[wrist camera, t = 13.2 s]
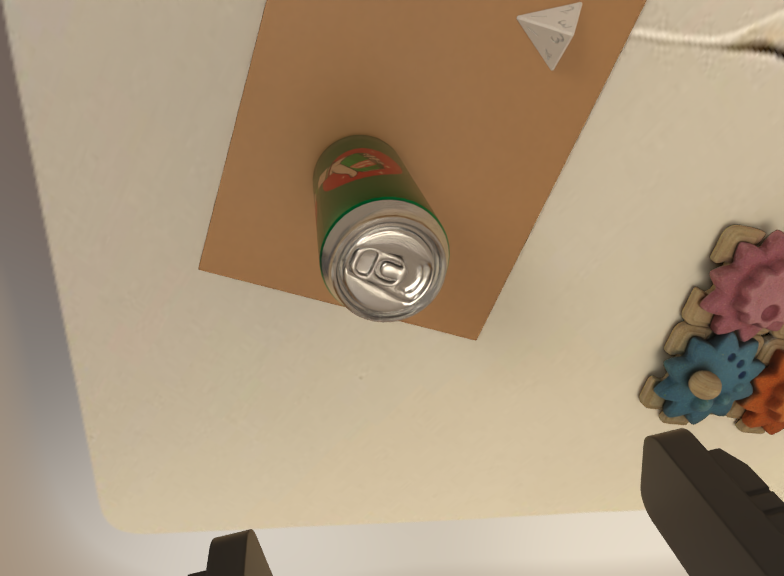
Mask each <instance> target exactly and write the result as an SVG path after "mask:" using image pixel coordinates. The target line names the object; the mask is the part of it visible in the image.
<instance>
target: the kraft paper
mask: <svg viewBox="0 0 784 576" xmlns="http://www.w3.org/2000/svg"><path fill="white" fill-rule="evenodd" d="M578 2H582V7H581V11H580V15H579V18H578V22H577V26H576V29H575V33H574V36H573V38H572V39H571V41H570V43H569V45H568V46H567V48H566V50H565V51H564V53H563V55H562V57H561V58H560V60H559V62H558V63H557V65H556V67H555V69H554V70H552V71H551V70H550V68H549V67H548V65H547V64H546V62H545V61H544V59H543V58H542V56H541V55H540V53H539V52H538V50H537V49H536V47H535V46H534V44H533V43H532V41H531V40H530V38H529V37H528V35H527V34H526V32H525V31H524V29H523V28H522V26H521V25H520V23H519V22H518V20H517V16H519V15H524V14H528V13H533V12H537V11H542V10H546V9H551V8H555V7H560V6H564V5H569V4H573V3H578ZM645 2H646V0H267V1H266V5H265V9H264V13H263V17H262V21H261V25H260V29H259V33H258V36H257V40H256V44H255V48H254V52H253V56H252V60H251V64H250V68H249V72H248V76H247V80H246V84H245V88H244V92H243V95H242V99H241V103H240V107H239V111H238V115H237V119H236V123H235V127H234V131H233V135H232V139H231V143H230V147H229V151H228V154H227V158H226V162H225V166H224V170H223V174H222V178H221V182H220V186H219V190H218V194H217V198H216V202H215V206H214V210H213V213H212V217H211V221H210V225H209V229H208V233H207V237H206V241H205V245H204V249H203V253H202V257H201V261H200V265H199V270H203V271H207V272H210V273H214V274H218V275H222V276H226V277H230V278H234V279H238V280H242V281H246V282H249V283H253V284H257V285H261V286H265V287H269V288H273V289H277V290H281V291H285V292H289V293H292V294H296V295H300V296H304V297H308V298H312V299H316V300H320V301H324V302H328V303H331V304H335V305H339V306H343V305H342V304H340V303H339V302H338V301H337V300H336V299H335V298H334V297H333V296H332V295H331V293H330V292H329V291H328V289H327V287H326V286H325V284H324V281H323V278H322V276H321V271H320V266H319V254H318V242H317V230H316V218H315V206H314V194H313V172H314V168H315V165H316V163H317V161H318V159H319V157H320V156H321V154H322V153H323V151H324V150H325V149H326V148H327V147H328V146H330V145H331V144H332V143H334V142H335V141H337V140H339V139H341V138H344V137H347V136H351V135H368V136H373V137H376V138H379V139H381V140H382V141H384V142H386V143H387V144H388V145H390V146H391V147H392V148H393V149H394V150H395V151H396V153H397V154H398V156H399V157H400V159H401V160H402V162H403V163H404V165H405V167H406V168H407V170H408V171H409V173H410V175H411V176H412V178H413V179H414V181H415V183H416V184H417V186H418V187H419V189H420V191H421V192H422V194H423V195H424V197H425V199H426V200H427V202H428V203H429V205H430V207H431V208H432V210H433V211H434V213H435V215H436V216H437V218H438V219H439V221H440V222H441V224H442V226H443V227H444V230H445V232H446V234H447V237H448V241H449V247H450V259H449V265H448V269H447V273H446V276H445V279H444V283H443V285H442V287H441V290H440V291H439V293H438V295H437V296H436V298H435V299H434V300H433V301H432V302H431V303H430V304H429V305H428V306H427V307H426V308H425V309H423V310H422V311H420V312H419V313H417V314H415V315H413V316H411V317H409V318H406V319H403V320H400V321H402V322H406V323H410V324H413V325H417V326H421V327H425V328H429V329H433V330H437V331H441V332H445V333H449V334H453V335H456V336H460V337H464V338H468V339H472V340H477V338H478V336H479V334H480V332H481V330H482V328H483V326H484V324H485V322H486V320H487V318H488V316H489V314H490V312H491V310H492V308H493V306H494V304H495V302H496V300H497V298H498V296H499V294H500V292H501V290H502V288H503V286H504V284H505V282H506V280H507V278H508V276H509V274H510V272H511V270H512V268H513V266H514V264H515V262H516V260H517V258H518V256H519V254H520V252H521V250H522V248H523V246H524V244H525V242H526V240H527V238H528V236H529V234H530V232H531V230H532V228H533V226H534V224H535V222H536V220H537V218H538V216H539V214H540V212H541V210H542V208H543V206H544V204H545V202H546V200H547V198H548V196H549V194H550V192H551V190H552V188H553V186H554V184H555V182H556V180H557V178H558V176H559V174H560V172H561V170H562V168H563V166H564V164H565V162H566V160H567V158H568V156H569V154H570V152H571V150H572V148H573V146H574V144H575V142H576V140H577V138H578V136H579V134H580V132H581V130H582V128H583V126H584V124H585V122H586V120H587V118H588V116H589V114H590V112H591V110H592V108H593V106H594V104H595V102H596V100H597V98H598V96H599V94H600V92H601V90H602V88H603V86H604V84H605V82H606V80H607V78H608V76H609V74H610V72H611V70H612V68H613V66H614V64H615V62H616V60H617V58H618V56H619V54H620V52H621V50H622V48H623V46H624V44H625V42H626V40H627V38H628V36H629V34H630V32H631V30H632V28H633V26H634V24H635V22H636V20H637V18H638V16H639V14H640V12H641V10H642V8H643V6H644V4H645ZM343 307H345V306H343Z"/></svg>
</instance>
